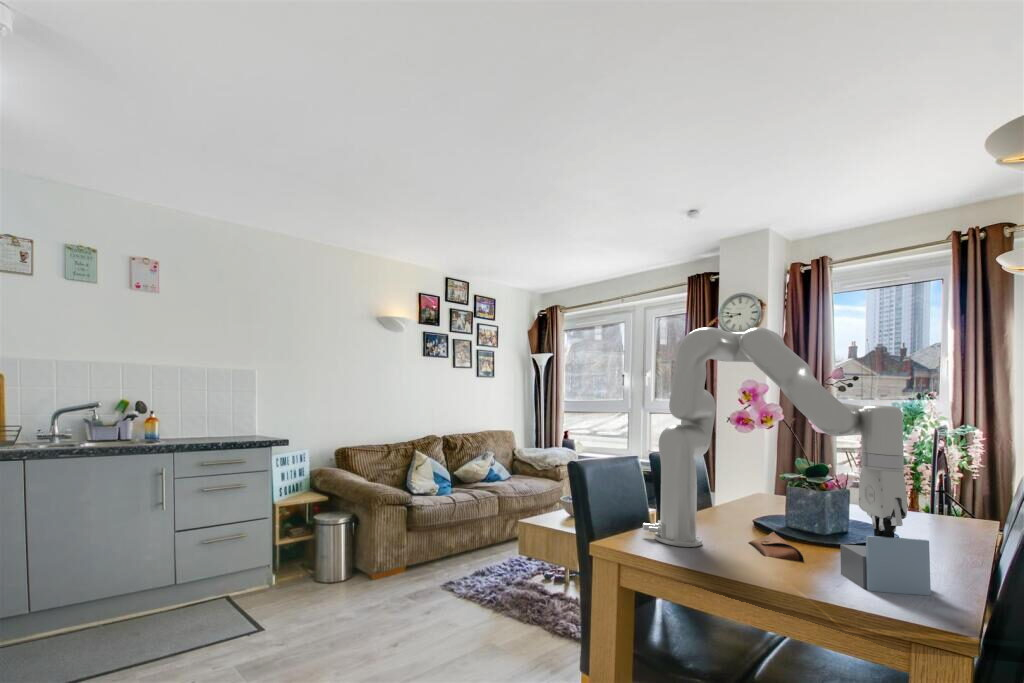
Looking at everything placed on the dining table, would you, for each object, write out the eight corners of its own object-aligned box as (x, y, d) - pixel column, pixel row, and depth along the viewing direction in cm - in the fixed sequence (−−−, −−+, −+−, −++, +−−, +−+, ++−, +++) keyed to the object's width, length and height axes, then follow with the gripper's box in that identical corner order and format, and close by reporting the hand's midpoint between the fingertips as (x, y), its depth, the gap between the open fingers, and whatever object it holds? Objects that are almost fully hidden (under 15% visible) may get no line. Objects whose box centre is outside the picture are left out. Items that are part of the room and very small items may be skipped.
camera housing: (863, 592, 111) (862, 556, 111) (840, 577, 120) (840, 544, 120) (937, 598, 109) (936, 561, 110) (909, 582, 118) (908, 549, 119)
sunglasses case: (745, 541, 147) (757, 521, 147) (767, 556, 146) (780, 536, 146) (768, 561, 129) (782, 538, 129) (794, 579, 128) (809, 556, 128)
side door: (869, 590, 110) (868, 536, 111) (866, 589, 110) (865, 535, 111) (930, 595, 108) (929, 540, 109) (928, 594, 109) (926, 539, 110)
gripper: (845, 457, 123) (847, 538, 121) (885, 465, 108) (887, 558, 106) (880, 459, 122) (881, 540, 120) (924, 468, 107) (927, 561, 105)
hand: (884, 548), depth 113 cm, fingers closed
